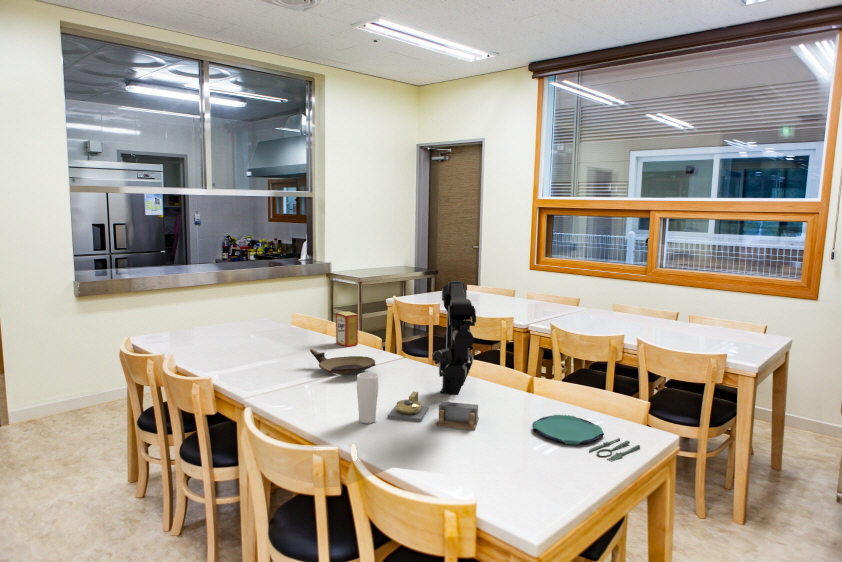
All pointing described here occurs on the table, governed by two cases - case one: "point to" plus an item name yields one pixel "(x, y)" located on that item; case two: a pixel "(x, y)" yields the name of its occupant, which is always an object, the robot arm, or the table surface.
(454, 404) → the bar
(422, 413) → the nut base
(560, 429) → the cutlery set
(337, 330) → the baking soda box
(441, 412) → the peg rack
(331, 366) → the frying pan
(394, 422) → the table surface
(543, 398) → the table surface
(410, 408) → the gold low rounded piece
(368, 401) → the drinking glass
